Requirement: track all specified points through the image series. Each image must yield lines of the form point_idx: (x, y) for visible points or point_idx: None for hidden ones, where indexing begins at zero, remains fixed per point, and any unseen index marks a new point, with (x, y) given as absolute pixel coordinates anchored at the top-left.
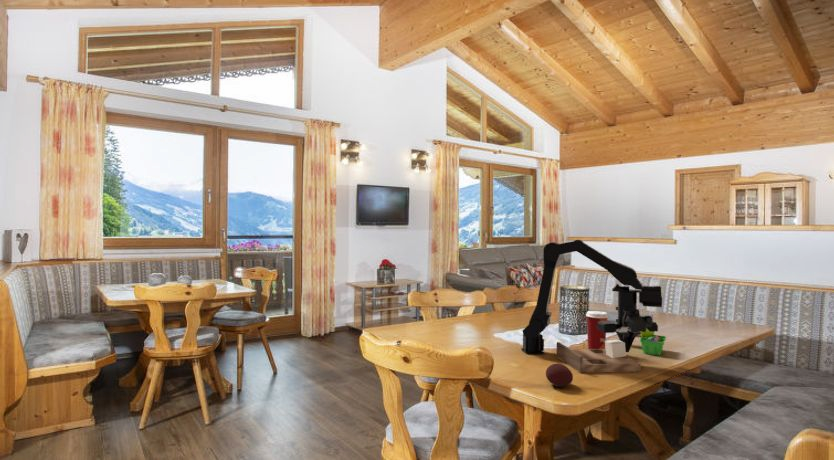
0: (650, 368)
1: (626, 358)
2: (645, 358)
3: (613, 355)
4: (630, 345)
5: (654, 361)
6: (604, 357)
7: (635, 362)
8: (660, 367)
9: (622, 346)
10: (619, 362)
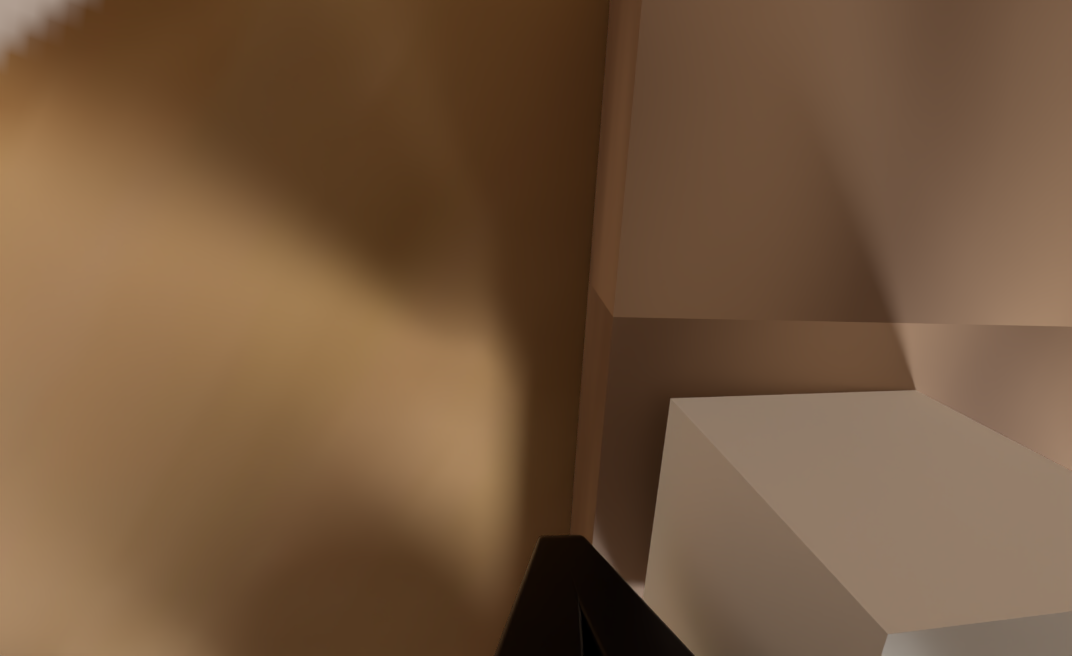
0: (307, 121)
1: (685, 340)
2: (114, 622)
3: (946, 410)
4: (531, 644)
5: (33, 486)
6: (1031, 434)
7: (696, 29)
8: (78, 159)
9: (886, 533)
10: (1041, 75)
